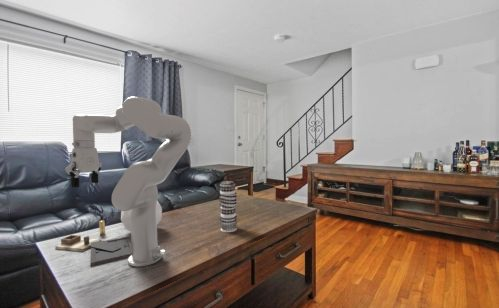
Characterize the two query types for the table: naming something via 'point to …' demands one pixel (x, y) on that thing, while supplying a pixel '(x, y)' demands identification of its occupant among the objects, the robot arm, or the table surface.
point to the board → (76, 243)
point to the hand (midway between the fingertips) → (85, 184)
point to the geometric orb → (126, 214)
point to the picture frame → (110, 250)
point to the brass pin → (102, 227)
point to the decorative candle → (228, 206)
